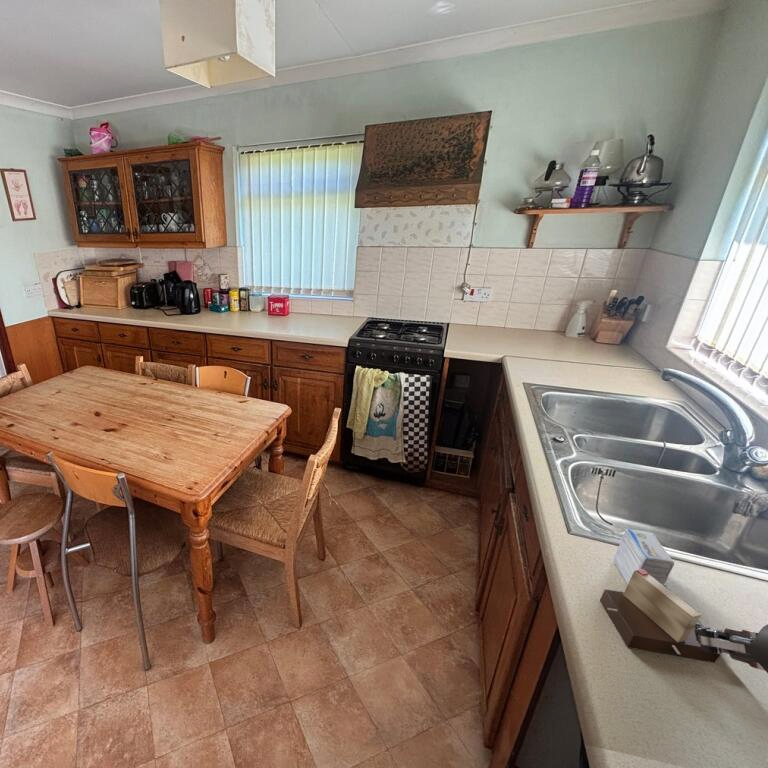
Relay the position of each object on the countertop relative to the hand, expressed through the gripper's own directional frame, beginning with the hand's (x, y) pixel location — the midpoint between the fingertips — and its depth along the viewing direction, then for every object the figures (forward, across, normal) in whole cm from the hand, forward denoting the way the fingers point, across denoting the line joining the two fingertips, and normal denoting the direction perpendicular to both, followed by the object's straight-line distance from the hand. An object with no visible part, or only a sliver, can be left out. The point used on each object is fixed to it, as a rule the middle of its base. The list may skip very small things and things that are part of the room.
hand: (702, 635), depth 57 cm
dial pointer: (+14, +3, +1) cm, 14 cm away
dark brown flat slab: (+16, +4, -1) cm, 17 cm away
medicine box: (+24, +6, +7) cm, 26 cm away
